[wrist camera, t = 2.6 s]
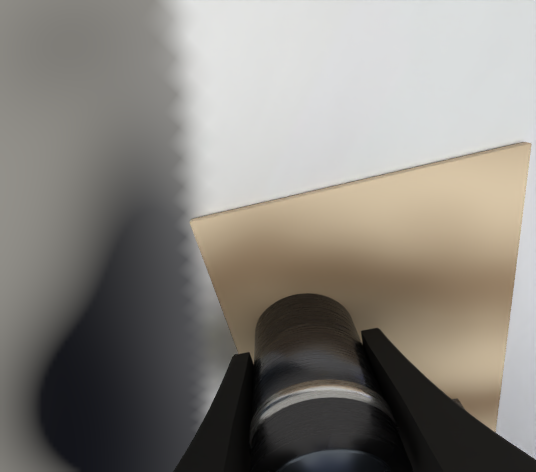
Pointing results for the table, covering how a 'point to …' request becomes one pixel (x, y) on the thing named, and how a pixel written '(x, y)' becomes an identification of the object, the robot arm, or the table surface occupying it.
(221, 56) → the table surface
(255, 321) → the cork mat
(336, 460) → the lens
